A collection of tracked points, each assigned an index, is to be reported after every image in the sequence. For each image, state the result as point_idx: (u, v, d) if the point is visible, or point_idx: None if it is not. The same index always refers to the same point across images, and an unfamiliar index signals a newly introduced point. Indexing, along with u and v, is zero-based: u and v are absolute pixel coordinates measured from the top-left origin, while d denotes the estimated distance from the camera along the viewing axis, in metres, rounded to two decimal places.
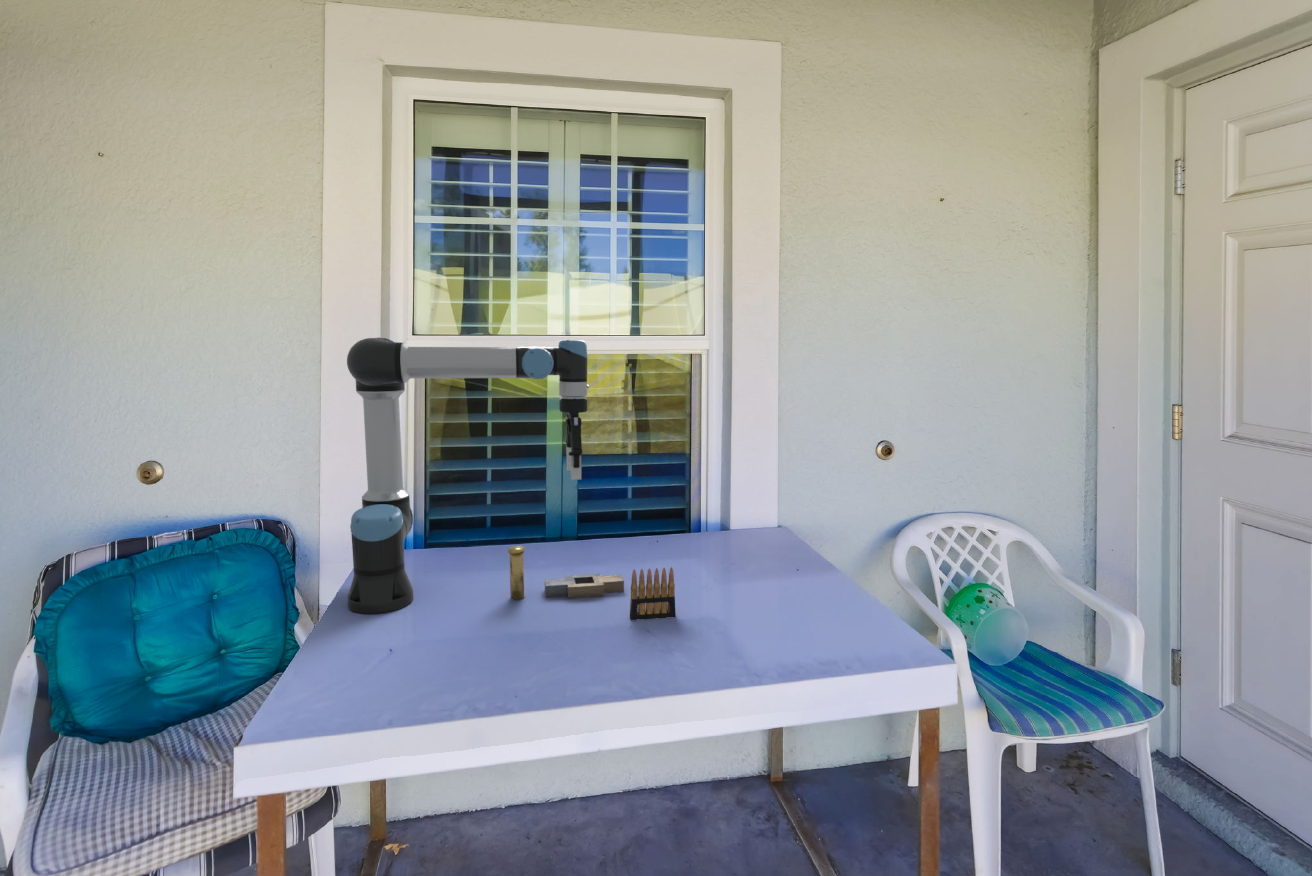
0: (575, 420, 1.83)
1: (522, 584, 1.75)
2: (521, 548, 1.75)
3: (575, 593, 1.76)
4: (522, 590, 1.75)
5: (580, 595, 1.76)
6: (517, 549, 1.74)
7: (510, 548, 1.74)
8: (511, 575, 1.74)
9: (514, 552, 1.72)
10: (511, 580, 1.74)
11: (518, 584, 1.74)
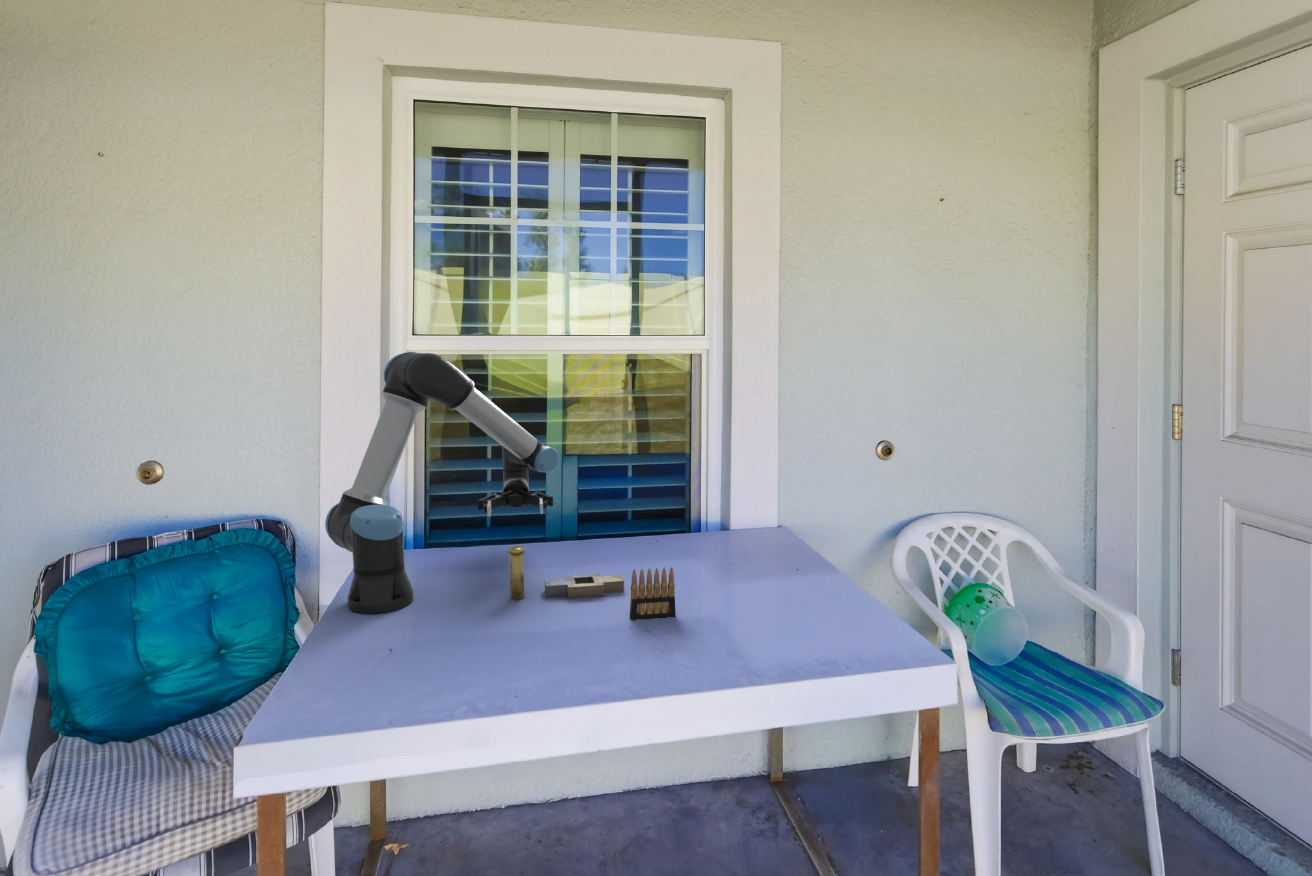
0: None
1: (522, 584, 1.75)
2: (521, 548, 1.75)
3: (575, 593, 1.76)
4: (522, 590, 1.75)
5: (580, 595, 1.76)
6: (517, 549, 1.74)
7: (510, 548, 1.74)
8: (511, 575, 1.74)
9: (514, 552, 1.72)
10: (511, 580, 1.74)
11: (518, 584, 1.74)
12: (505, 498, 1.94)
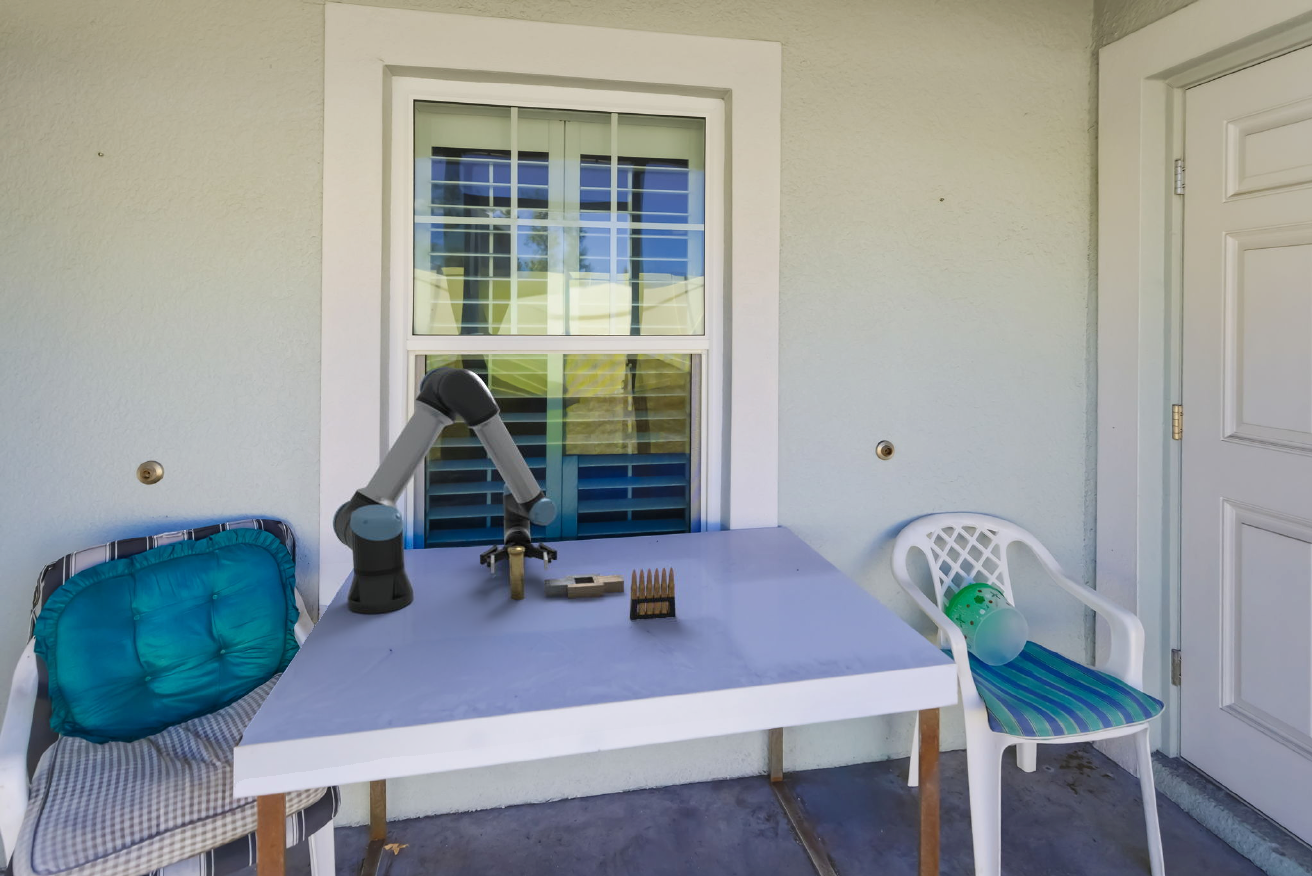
0: None
1: (522, 584, 1.75)
2: (521, 548, 1.75)
3: (575, 593, 1.76)
4: (522, 590, 1.75)
5: (580, 595, 1.76)
6: (517, 549, 1.74)
7: (510, 548, 1.74)
8: (511, 575, 1.74)
9: (514, 552, 1.72)
10: (511, 580, 1.74)
11: (518, 584, 1.74)
12: None
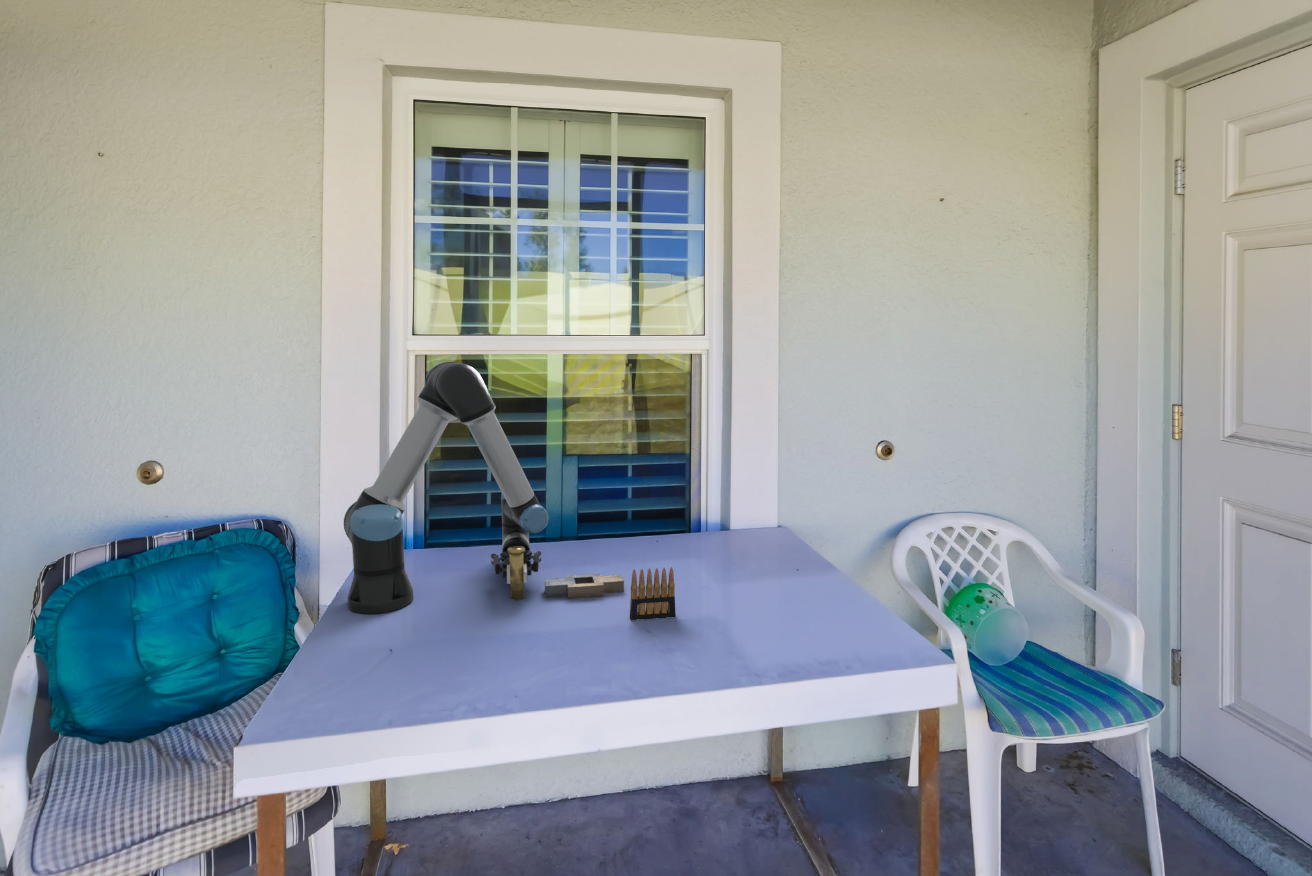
0: (540, 556, 1.87)
1: (522, 584, 1.75)
2: (521, 548, 1.75)
3: (575, 593, 1.76)
4: (522, 590, 1.75)
5: (580, 595, 1.76)
6: (517, 549, 1.74)
7: (510, 548, 1.74)
8: (511, 575, 1.74)
9: (514, 552, 1.72)
10: (511, 580, 1.74)
11: (518, 584, 1.74)
12: None
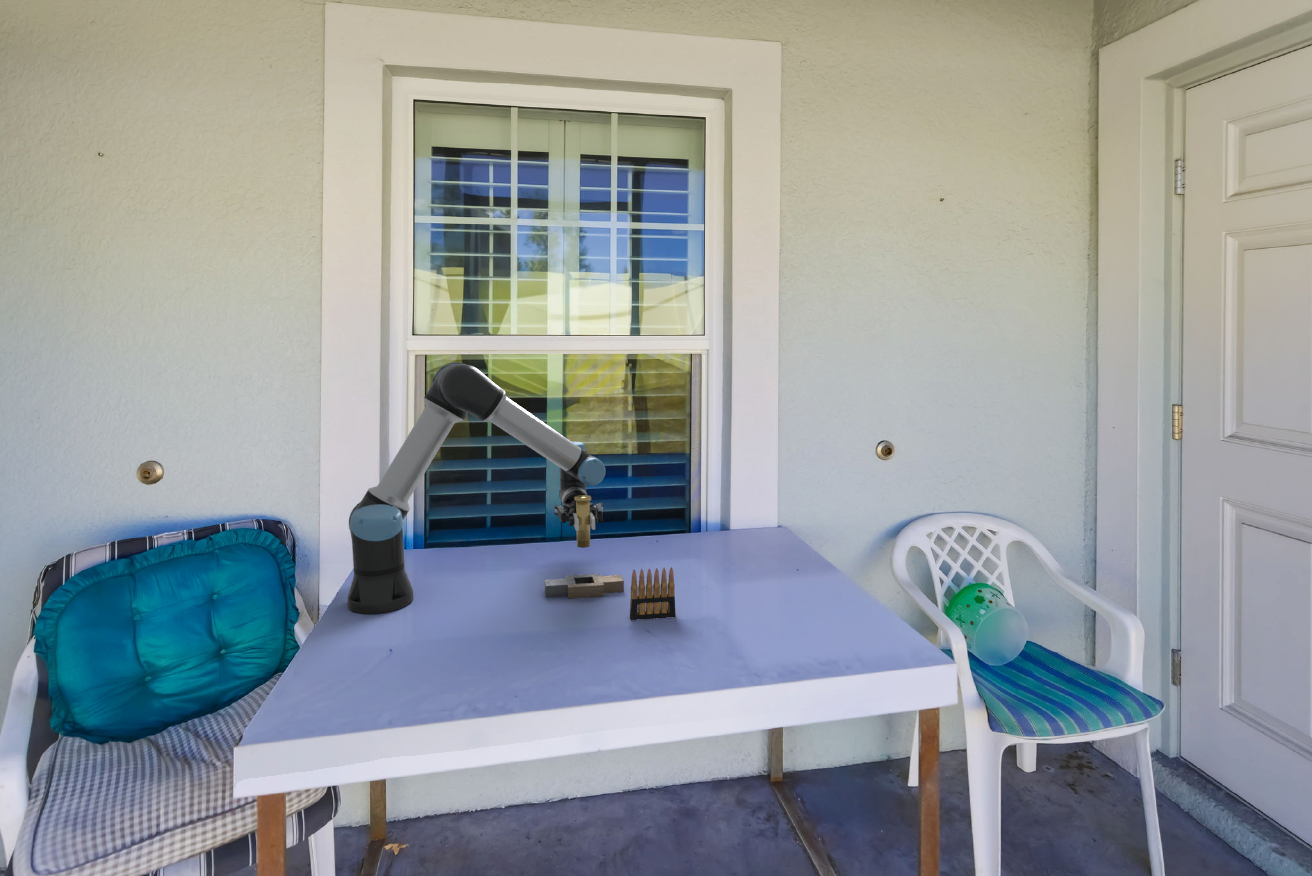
0: (602, 508, 1.89)
1: (588, 532, 1.78)
2: (588, 496, 1.77)
3: (575, 593, 1.76)
4: (588, 538, 1.78)
5: (580, 595, 1.76)
6: (584, 497, 1.76)
7: (577, 496, 1.77)
8: None
9: (581, 500, 1.75)
10: None
11: (585, 532, 1.77)
12: (575, 509, 1.86)
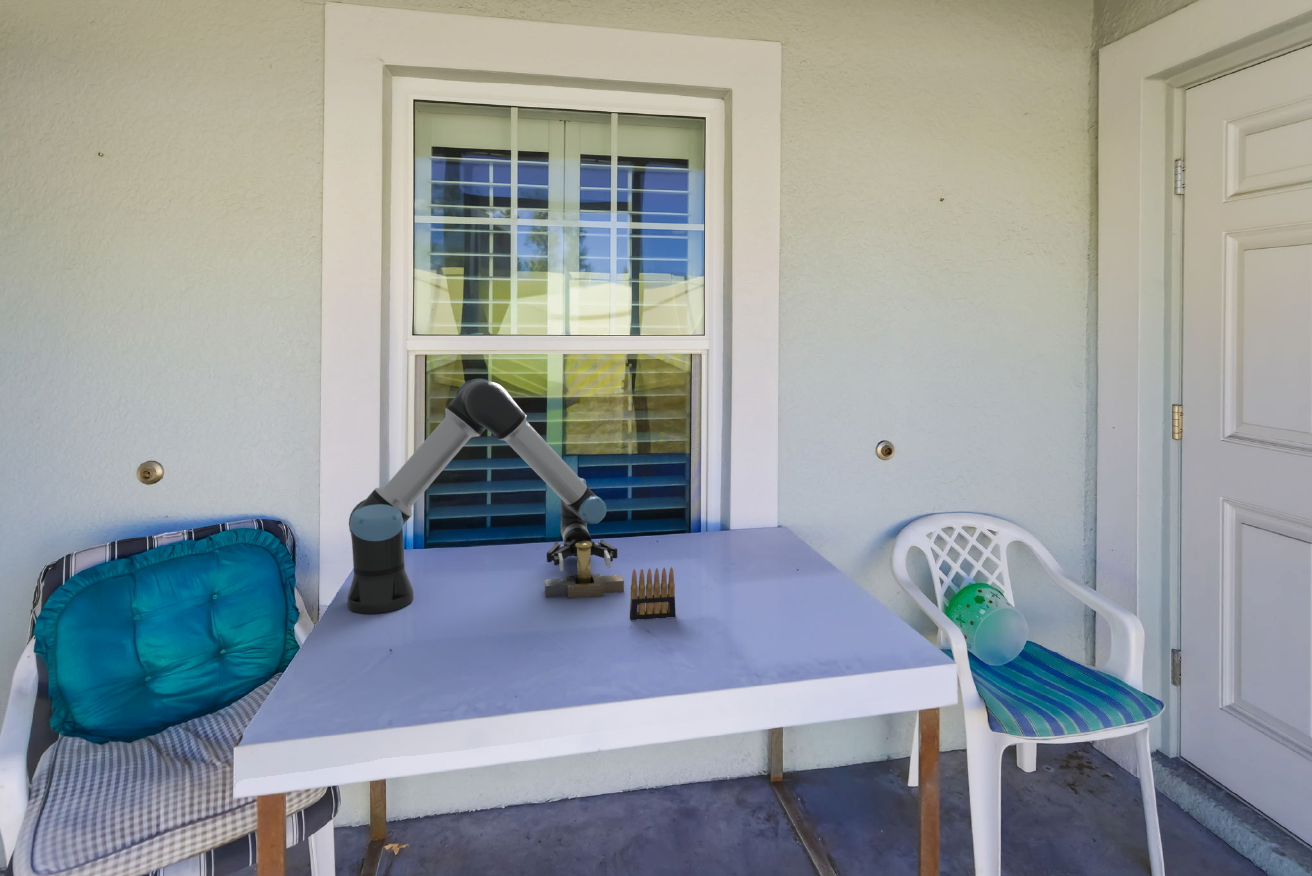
0: None
1: (589, 578, 1.79)
2: (589, 543, 1.79)
3: (575, 593, 1.76)
4: None
5: (580, 595, 1.76)
6: (585, 544, 1.78)
7: (578, 543, 1.79)
8: (579, 569, 1.79)
9: (582, 547, 1.77)
10: (579, 574, 1.79)
11: (586, 578, 1.79)
12: (571, 548, 1.87)
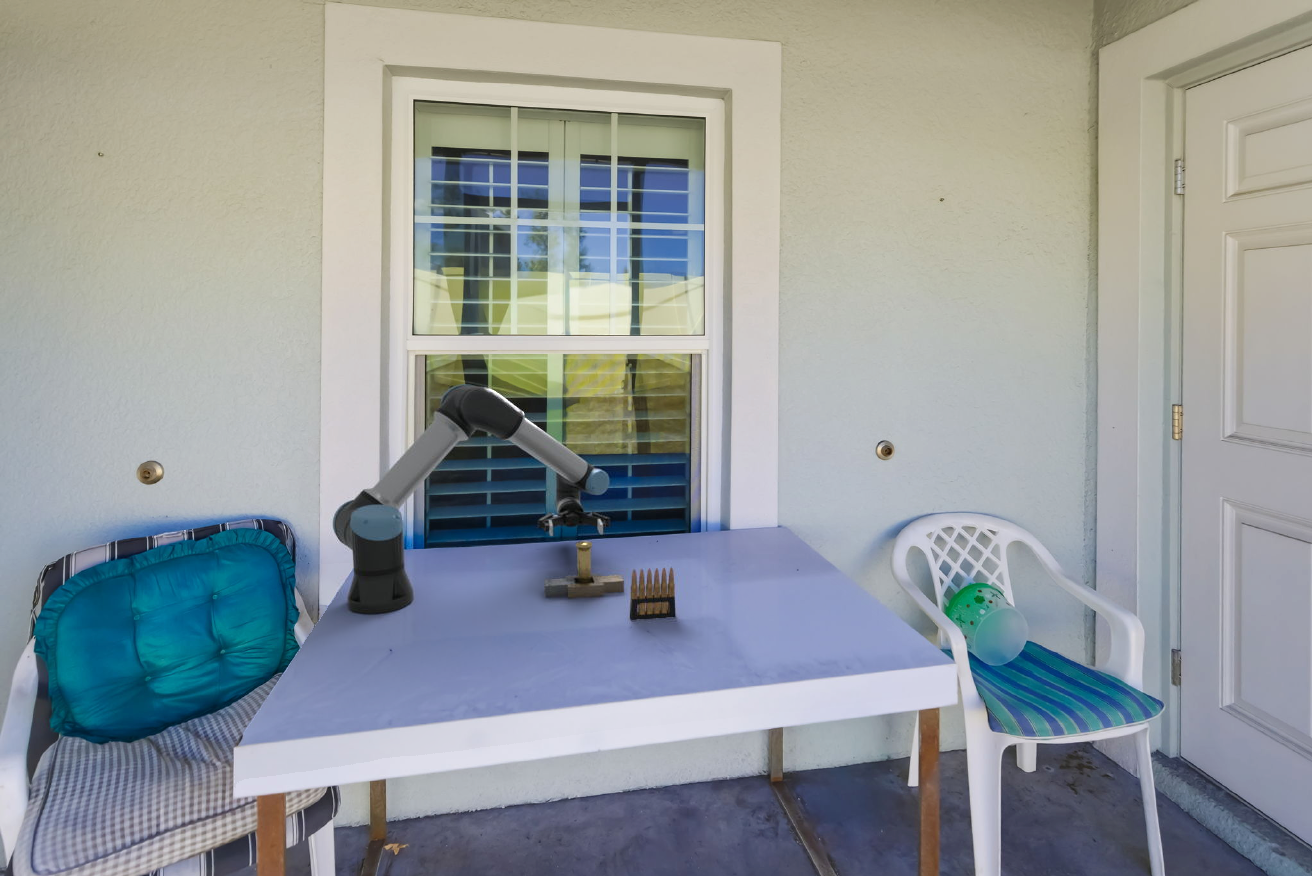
0: None
1: (589, 578, 1.79)
2: (589, 543, 1.79)
3: (575, 593, 1.76)
4: None
5: (580, 595, 1.76)
6: (585, 544, 1.78)
7: (578, 543, 1.79)
8: (579, 569, 1.79)
9: (582, 547, 1.77)
10: (579, 574, 1.79)
11: (586, 578, 1.79)
12: (563, 518, 2.01)
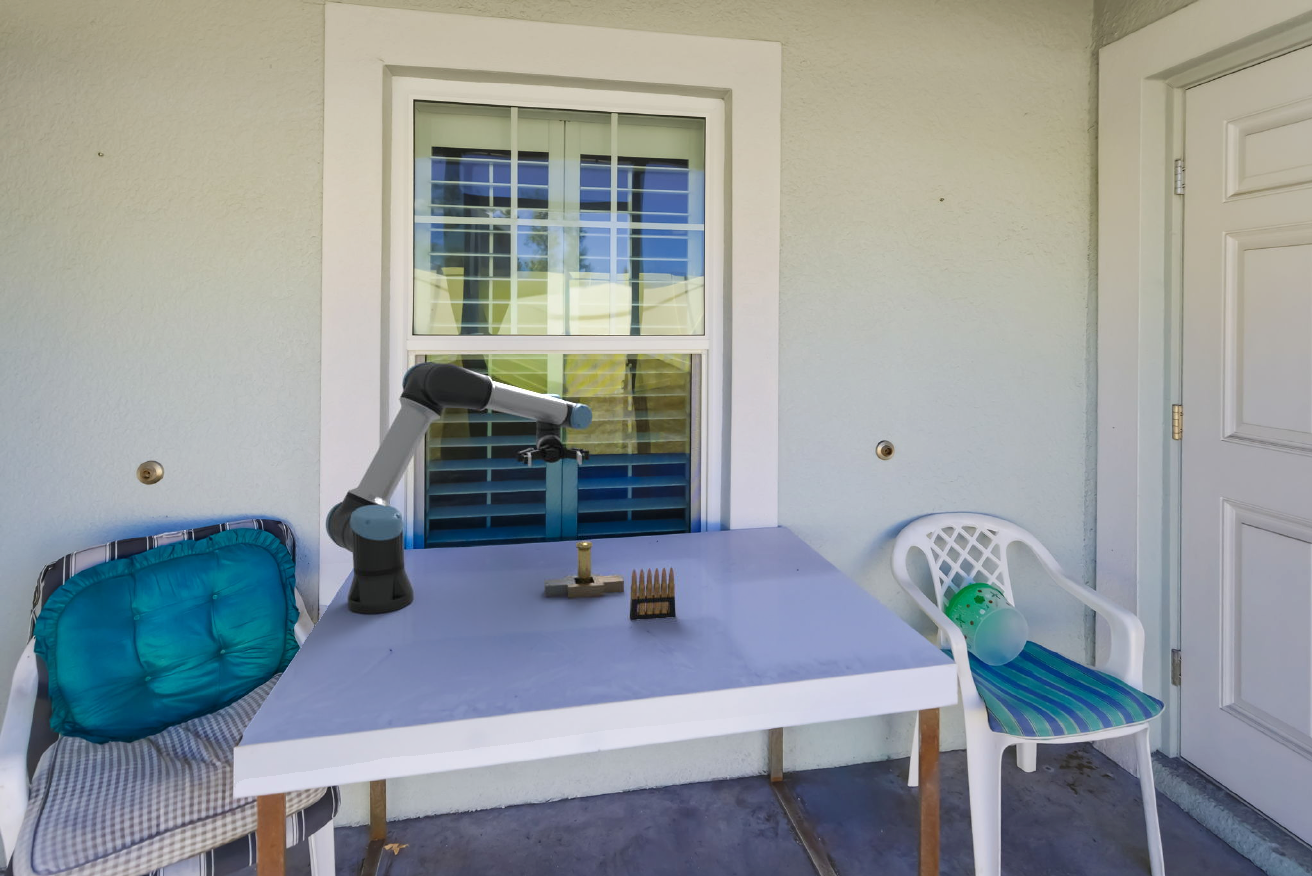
0: None
1: (589, 578, 1.79)
2: (589, 543, 1.79)
3: (575, 593, 1.76)
4: None
5: (580, 595, 1.76)
6: (585, 544, 1.78)
7: (578, 543, 1.79)
8: (579, 569, 1.79)
9: (583, 547, 1.77)
10: (579, 574, 1.79)
11: (586, 578, 1.79)
12: (542, 452, 2.00)
